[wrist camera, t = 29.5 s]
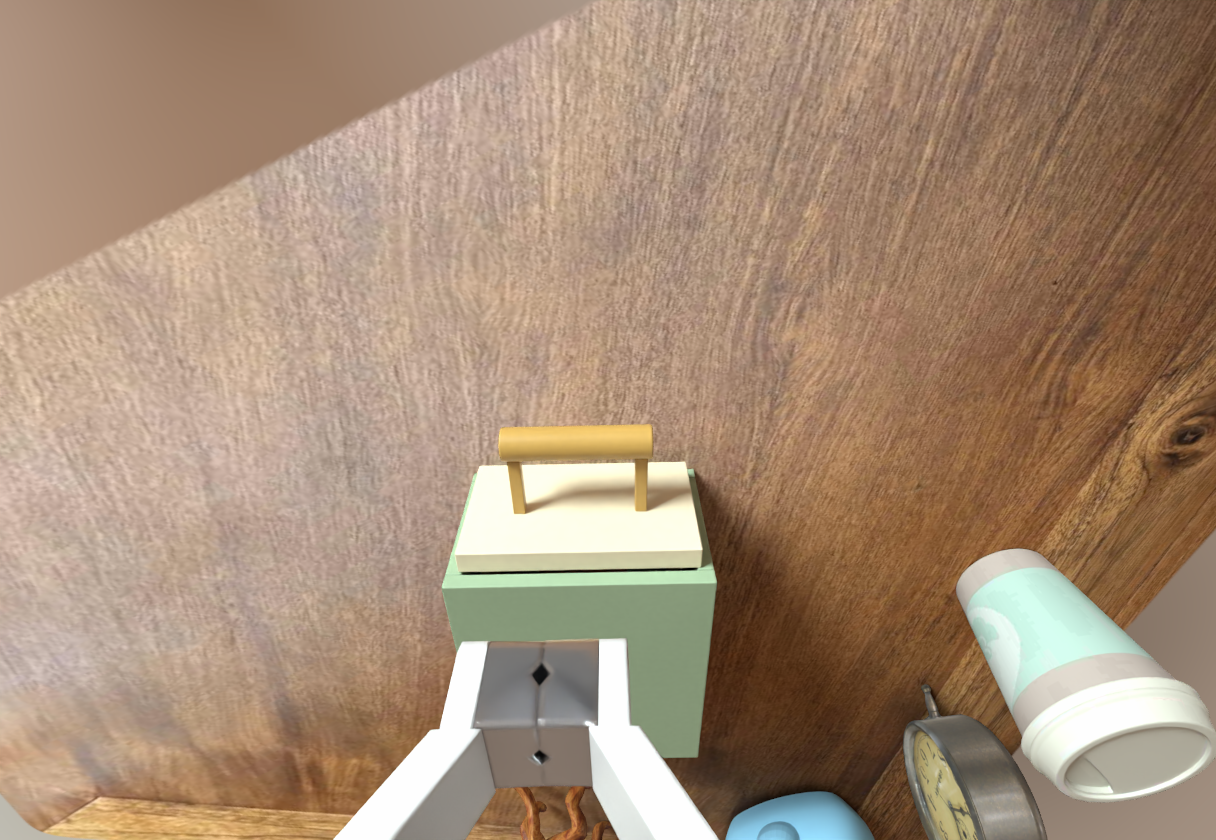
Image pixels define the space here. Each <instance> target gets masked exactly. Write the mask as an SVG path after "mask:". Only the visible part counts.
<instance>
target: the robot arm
mask: <svg viewBox="0 0 1216 840" xmlns="http://www.w3.org/2000/svg"><path fill="white" fill-rule="evenodd" d="M535 786H593V790H594V792H595V794H596V796H597V798H598V800H599V802H600V804H601V805H602V807H603V809H604V811H605V813H606V815H607V817H608V819H609V821H610V823H611V825H612V827H613V829H614V831H615V832H616V834H617V836H618V838H619V840H719V839H718V837H717V836H716V834H715V833H714V832H713V830H712V829H711V827H710V826H709V824H708V823H707V821H706V820H705V819H704V817H703V816H702V814H701V813H700V811H699V810H698V809H697V807H696V806H695V804H694V803H693V801H692V800H691V798H690V797H689V796H688V794H687V793H686V791H685V790H684V788H683V787H682V785H681V784H680V783H679V781H678V780H677V778H676V777H675V775H674V774H673V772H672V771H671V770H670V768H669V767H668V765H667V764H666V762H665V761H664V760H663V758H662V757H661V755H660V754H659V752H658V751H657V749H656V748H655V747H654V745H653V744H652V742H651V741H650V739H649V738H648V736H647V735H646V734H645V732H644V731H643V729H642V728H641V726H634V725H632V724H631V701H630V678H629V655H628V642H627V638H618V639H599V638H593V639H565V640H545V641H467V642H462V643H461V645H460V647H459V649H458V652H457V656H456V661H455V665H454V669H453V673H452V678H451V682H450V686H449V690H448V695H447V699H446V703H445V708H444V712H443V716H442V720H441V725H440V729H437V730H430V731H429V733H428V734H427V735H426V736H425V737H424V738H423V739H422V740H421V742H420V743H419V744H418V745H417V746H416V747H415V748H414V749H413V751H412V752H411V753H410V754H409V755H408V756H407V757H406V758H405V760H404V761H403V762H402V763H401V764H400V765H399V766H398V767H397V769H396V770H395V771H394V772H393V773H392V774H391V775H390V776H389V778H388V779H387V780H386V781H385V782H384V783H383V784H382V785H381V787H380V788H379V789H378V790H377V791H376V792H375V793H374V794H373V796H372V797H371V798H370V799H369V800H368V801H367V802H366V803H365V805H364V806H363V807H362V808H361V809H360V810H359V811H358V812H357V814H356V815H355V816H354V817H353V818H352V819H351V820H350V821H349V822H348V824H347V825H346V826H345V827H344V828H343V829H342V830H341V831H340V833H339V834H338V835H337V836H336V837H335V838H334V839H333V840H465V839H466V837H467V836H468V834H469V833H470V831H471V830H472V828H473V827H474V825H475V823H476V822H477V820H478V819H479V817H480V816H481V814H482V813H483V811H484V809H485V808H486V806H487V805H488V803H489V802H490V800H491V799H492V797H493V795H494V794H495V792H496V791H495V788H515V787H535Z"/></svg>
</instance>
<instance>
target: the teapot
mask: <svg viewBox="0 0 1216 840" xmlns="http://www.w3.org/2000/svg"><path fill="white" fill-rule="evenodd" d="M726 840H874V837H873V835H872V833H871V831H870V830H869V828H868V826H867V825H866V823H865V822H864V821H863V820H862V818H861V817H860V816H859V815H858V814H857V813H856V812H855V811H854V810H853V809H852V808H851V807H850V806H849V805H848V804H847V803H846V802H845V801H844V800H842V799H841V798H840V797H838V796H837V795H835V794H833V793H829V792H822V791H818V792H805V793H799V794H793V795H788V796H783V797H779V798H775V799H772V800H769V801H766V802H763V803H760V804H758V805H756V806H753V807H751V808H749V809H747V810H745V811H743V812H741V813H740V814H738V815H737V816H736V817H734V819H733V820H732V822H731V824H730V827H729V830H728V833H727V836H726Z"/></svg>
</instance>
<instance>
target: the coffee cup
mask: <svg viewBox="0 0 1216 840" xmlns="http://www.w3.org/2000/svg"><path fill="white" fill-rule="evenodd" d="M956 593H957V597H958V599H959V601H960V603H961V606H962V608H963V610H964V612H965V614H966V617H967V619H968V621H969V623H970V625H971V628H972V630H973V632H974V634H975V636H976V638H977V641H978V643H979V645H980V647H981V649H982V651H983V653H984V656H985V658H986V660H987V662H988V664H989V666H990V669H991V671H992V673H993V675H994V677H995V679H996V682H997V684H998V686H999V688H1000V690H1001V692H1002V694H1003V697H1004V699H1005V701H1006V703H1007V705H1008V707H1009V710H1010V712H1011V714H1012V716H1013V718H1014V720H1015V722H1016V724H1017V727H1018V729H1019V731H1020V733H1021V735H1022V742H1021V747H1022V751H1023V753H1024V755H1025V756H1026V757H1027V758H1028V759H1029V760H1030V761H1031V762H1032V764H1033V766H1034V767H1035V768H1036V770H1037V771H1039V772H1040V773H1041V774H1043V775H1045V776H1046V777H1047V778H1048V779H1049V780H1050V781H1051V782H1052V783H1053V784H1054V785H1055V786H1056V788H1058V790H1059V791H1060V792H1062V793H1063V794H1065V795H1066V796H1068V797H1071V798H1074V799H1077V800H1081V801H1086V802H1100V803H1101V802H1102V803H1105V802H1119V801H1127V800H1133V799H1138V798H1142V797H1146V796H1150V795H1153V794H1157V793H1160V792H1162V791H1165V790H1168V789H1170V788H1173V787H1175V786H1177V785H1179V784H1182V783H1184V782H1185V781H1187V780H1189V779H1191V778H1193V777H1194V776H1196V775H1197V774H1198V773H1200V772H1201V771H1203V770H1204V769H1205V768H1206V767H1207V766H1208V765H1209V764H1210V763H1211V762H1212V761H1213V760H1214V759H1215V757H1216V731H1215V729H1214V727H1213V725H1212V723H1211V721H1210V716H1209V711H1208V709H1207V707H1206V706H1205V705H1204V703H1203V702H1202V701H1201V699H1200V697H1199V695H1198V693H1197V692H1196V691H1195V690H1194V689H1193V688H1192V687H1190V686H1189V685H1187V684H1185V683H1182V682H1180V681H1177V680H1175V679H1174V678H1173V677H1172V676H1171V675H1170V674H1169V673H1168V672H1167V671H1166V670H1165V669H1164V668H1163V667H1161V666H1160V665H1159V664H1158V663H1157V662H1156V661H1155V660H1154V659H1153V658H1152V657H1150V655H1149V654H1148V653H1147V652H1145V651H1144V650H1143V649H1142V648H1141V647H1140V646H1139V645H1138V644H1137V643H1136V642H1135V641H1134V640H1133V639H1131V638H1130V637H1129V636H1128V635H1127V634H1126V633H1125V632H1124V631H1123V630H1122V629H1121V628H1120V627H1119V626H1118V625H1117V624H1115V623H1114V622H1113V621H1112V620H1111V619H1110V618H1109V617H1108V616H1107V615H1106V614H1105V613H1104V612H1103V611H1102V610H1100V609H1099V608H1098V607H1097V606H1096V605H1095V604H1094V603H1093V602H1092V601H1091V600H1090V599H1089V598H1088V597H1087V596H1085V595H1084V594H1083V593H1082V592H1081V591H1080V590H1079V589H1078V588H1077V587H1076V586H1075V585H1074V584H1073V583H1072V582H1070V581H1069V580H1068V579H1067V578H1066V577H1065V576H1064V575H1063V574H1062V573H1061V572H1060V571H1058V570H1057V569H1056V568H1055V567H1054V566H1053V565H1052V564H1051V563H1050V562H1049V561H1048V560H1047V559H1045V558H1044V557H1043V556H1042V555H1041V554H1039V553H1037V552H1035V551H1031V550H1026V549H1009V550H1003V551H999V552H995V553H993V554H990V555H988V556H985V557H983V558H981V559H980V560H978V561H976V562H975V563H974V564H972V565H971V566H970V567H969V568H968V569H966V571H965V572H964V573H963V574H962V576H961V577H960V579H959V581H958V583H957V587H956Z"/></svg>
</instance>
